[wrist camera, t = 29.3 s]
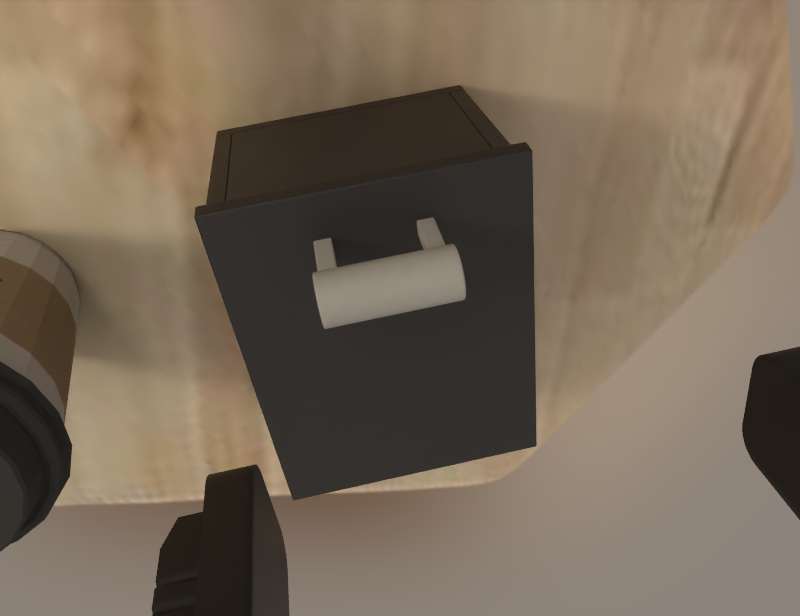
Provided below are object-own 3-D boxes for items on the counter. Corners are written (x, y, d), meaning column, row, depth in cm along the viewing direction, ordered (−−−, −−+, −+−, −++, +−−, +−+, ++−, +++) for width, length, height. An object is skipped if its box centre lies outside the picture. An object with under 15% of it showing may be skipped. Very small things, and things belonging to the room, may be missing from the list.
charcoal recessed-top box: (216, 131, 36) (204, 213, 28) (460, 84, 37) (517, 152, 29) (286, 371, 45) (292, 488, 37) (482, 329, 45) (531, 434, 37)
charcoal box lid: (194, 206, 26) (185, 286, 22) (526, 141, 27) (576, 206, 23) (292, 488, 36) (298, 579, 32) (531, 435, 37) (567, 517, 33)
